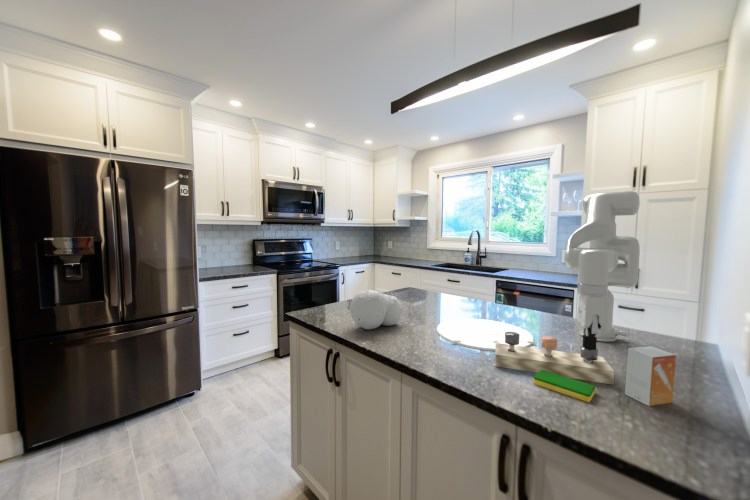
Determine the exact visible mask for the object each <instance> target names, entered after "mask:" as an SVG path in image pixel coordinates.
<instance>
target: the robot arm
mask: <svg viewBox="0 0 750 500" xmlns="http://www.w3.org/2000/svg"><path fill="white" fill-rule="evenodd" d="M640 205H641V202H640V197H639V194H638V192H637V191H629V190H627V191H626V190H625V191H612V192H611V191H610V192H609V191H607V192H599V193H592V194H589V195H586V196H585V197H584V198H583V199H582V209H583V211H584V213H585V223H584V225H582V226H581V227H579V228H577V229H576V230H575V231H574V232H573V233H571V235H570V236H569V238H568V239H567V242H566V245H565V246H566V247H565V250H564V251H565V252H564V264H565V267H566V268H568V269H570V270H575V271H578V275H577V292H576V293H577V294H578V296H579V297H578V301H577V312H576V313H577V314H576V320H577V322H578V323H579V324H580V326H581V327H582V329H581V330H579V334H580V336H581V337H582V346H583V347H584V348H585V349H592V350H596V348H597V343H598V342H603V343H604V342H606V343H610V342H616V341H617V336H620V337H627V335H628V334H627V331H625V330H621V329H615V328H614V327H613V321H614V320H613V319H614V305H615V304H614V302H615V298H614V294H613V292H611V290H610V289H608V287H617V288H618V287H619V288H634V287H636V286H637V285H638V283H639V276H640V275H639V271H640V251H641V250H640V243H639V240H638V239H637V238H636V237H634V236H627V235H626V236H624V235H623V236H622V235H621V236H619V235H617V223H616V216H619V217H620V216H635V215H636V214H637V213H638V211H639V209H640ZM587 242H589V247H579V246H581V245H583V244H585V243H587ZM619 261H622V262H624V263H621V262H620V263H619Z"/></svg>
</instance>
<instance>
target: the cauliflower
mask: <svg viewBox="0 0 750 500" xmlns="http://www.w3.org/2000/svg"><path fill="white" fill-rule="evenodd" d="M349 313H350V317H351V318H352V321H353V322H354V323H355V324H356V325H357V326H358V327H360V328H362V329H364V330H374V329H377V328H379V327H380V326H381V325H382V326H386V327H388V326H393V325H396V324H397V323H399V321H401V319H402V317H403V313H404V308H403V305H402V302H401V300H400V299H399V298H398V297H396V296H395V295H389V294H386V293H382V292H379V291H377V290H373V289H367V290H362V291H360V292H358V293H356V294H355V295H354V296H353V298H352V300H351V302H350V307H349Z"/></svg>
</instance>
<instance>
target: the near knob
mask: <svg viewBox="0 0 750 500" xmlns="http://www.w3.org/2000/svg"><path fill="white" fill-rule="evenodd" d="M579 354H580V356H581V357H582V358H584V359H586V361H585V362H589V363H592V360H597V359H598V356H599V349H598V348H597V347H596V350H592V349H585V348H584V347H583V345H581V346H580V352H579Z"/></svg>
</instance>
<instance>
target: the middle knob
mask: <svg viewBox="0 0 750 500" xmlns="http://www.w3.org/2000/svg"><path fill="white" fill-rule="evenodd" d="M540 345H541V346H540V347H541V348H542V349H546V357H551V354H552V350H553V351H557V349H558V338H556V337H554V336H552V335H542V336H541V342H540Z"/></svg>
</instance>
